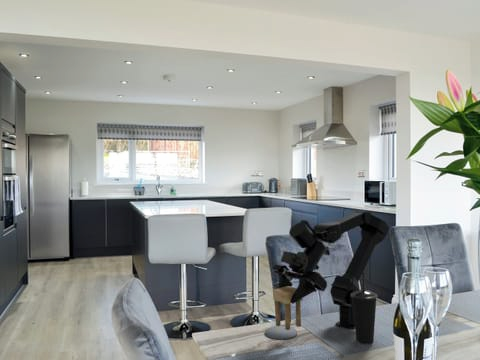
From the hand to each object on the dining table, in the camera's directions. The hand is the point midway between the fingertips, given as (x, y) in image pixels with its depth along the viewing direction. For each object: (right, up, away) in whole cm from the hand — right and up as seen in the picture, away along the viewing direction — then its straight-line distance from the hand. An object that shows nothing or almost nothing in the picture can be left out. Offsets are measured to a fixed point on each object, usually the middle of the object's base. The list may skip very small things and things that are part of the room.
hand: (284, 300), depth 122 cm
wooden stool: (+1, -8, +1) cm, 8 cm away
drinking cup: (+24, -13, +2) cm, 27 cm away
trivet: (0, -13, +9) cm, 16 cm away
